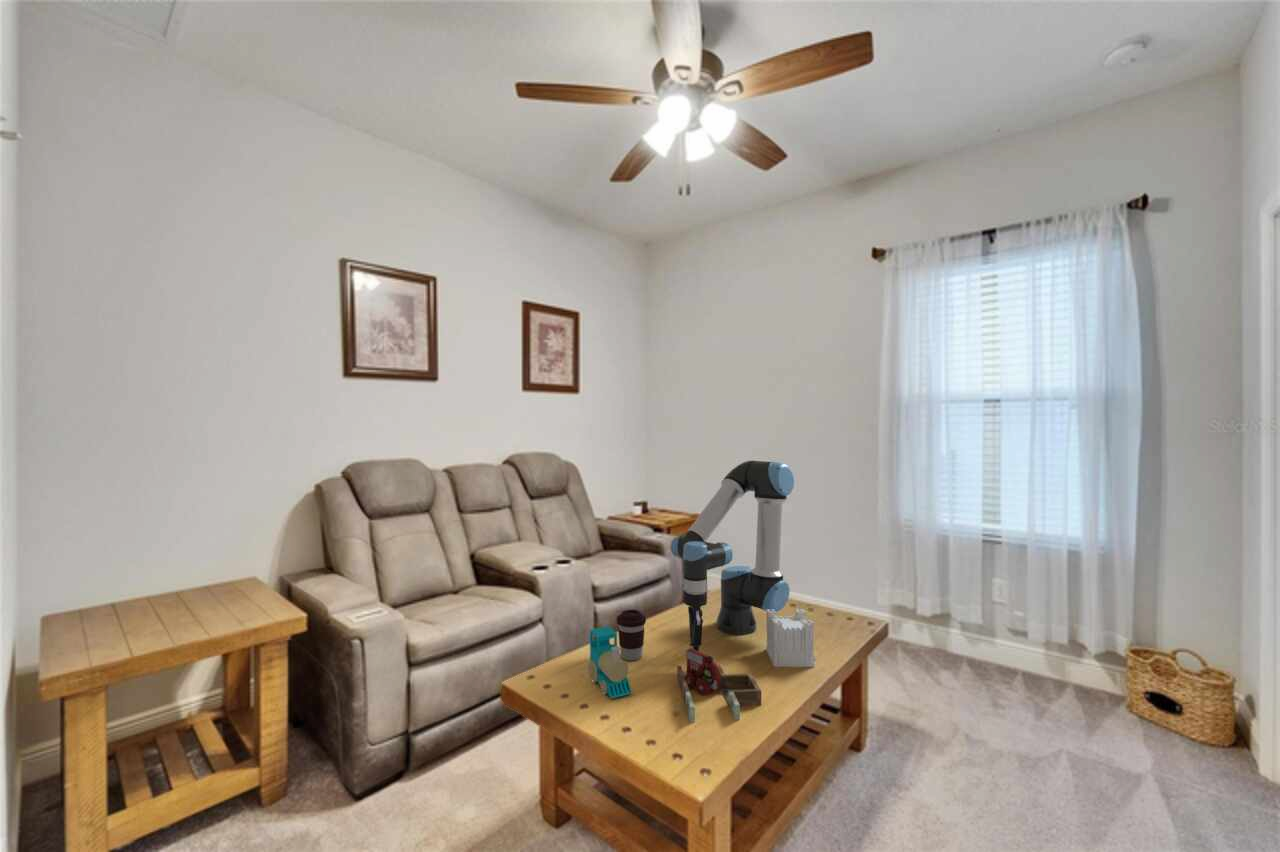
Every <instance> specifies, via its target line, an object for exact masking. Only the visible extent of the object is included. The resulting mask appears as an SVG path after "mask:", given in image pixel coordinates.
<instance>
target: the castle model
mask: <svg viewBox="0 0 1280 852" xmlns="http://www.w3.org/2000/svg"><path fill="white" fill-rule="evenodd" d="M776 613H777V612H775V610H774V609H771V611H770V609H767V611H766V646H765V649H766V652H767V654H768V657H769V659H770V661H771V663H772V665H773V667H774V668H776V667H777V668H815V661H816V660H817V656H815V654H814V653H815V651H814V649H815V648H814V643H815V642H814V640H815V639H814V622H813V620H812V619H808V620H807V619H806V611H805V610H804V609H803V608H800V609H798V608H795V615H794V616H793V615H789V616H787V615H784V617H783V615H779V617H778V615H777V614H776Z"/></svg>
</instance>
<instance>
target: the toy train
mask: <svg viewBox="0 0 1280 852" xmlns="http://www.w3.org/2000/svg"><path fill="white" fill-rule="evenodd" d="M593 637H595V638H596V639H594V638H593ZM610 639H614V640H613V644H612V643H611V642H610V641H611V640H610ZM589 650H590V651H589V663H588V673H589V679H590V680H591V679H592V680H593V682H594V683H593V682H592V683H593V684H596V683H597V684H598V685H599V686H600V690H601V693H602V692H603V693H604V694H605V695H608V696H609V697H610V698H611V699H615V698H619V697H623V696H626V695H630V694H632V693H633V692H632V689H631V686H630V683H629V679H628V677H627V675H628V672H629V666H628V663H626V662H625V660H624V659H623V658H622V657H621V656H620V651H621V650H620V646H618V632H616V631H615V629H613V628H612V627H610V626H609V625H607V626H604V627H597V628H592V629H589ZM603 693H602V694H603ZM604 694H603V695H604Z"/></svg>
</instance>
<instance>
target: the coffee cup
mask: <svg viewBox="0 0 1280 852" xmlns="http://www.w3.org/2000/svg"><path fill="white" fill-rule="evenodd" d="M646 622H647V617H646V615H644V614H642V612H641V611H640V610H638V609H626V610H623V611H622V612H621V613H620V614H618V615H617V616H616V624H617V625H618V628H617V630H618V632H617V633H618V642H619V643H618V644H619V647H620V650H619V651H620V658H621V659H622V660H624V659H625V660H624V661H628V660H630V661H633V660H634V661H638V660H640V659H641V658H642V657H643V647H644V641H645V640H644V639H645V627H644V626H645V624H646ZM630 661H629V662H630ZM634 661H633V662H634Z"/></svg>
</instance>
